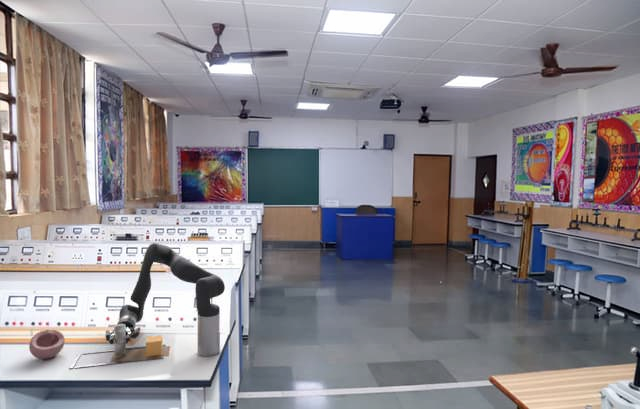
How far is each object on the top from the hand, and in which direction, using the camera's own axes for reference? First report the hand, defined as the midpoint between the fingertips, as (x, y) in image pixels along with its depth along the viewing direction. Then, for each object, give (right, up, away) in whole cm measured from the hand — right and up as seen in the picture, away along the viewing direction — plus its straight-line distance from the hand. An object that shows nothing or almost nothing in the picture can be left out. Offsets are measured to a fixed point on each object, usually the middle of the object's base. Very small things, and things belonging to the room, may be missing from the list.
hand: (119, 341), depth 158 cm
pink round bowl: (-32, -8, +3) cm, 33 cm away
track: (0, -9, +3) cm, 9 cm away
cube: (+11, -7, +7) cm, 15 cm away
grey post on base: (+6, -9, +5) cm, 12 cm away
